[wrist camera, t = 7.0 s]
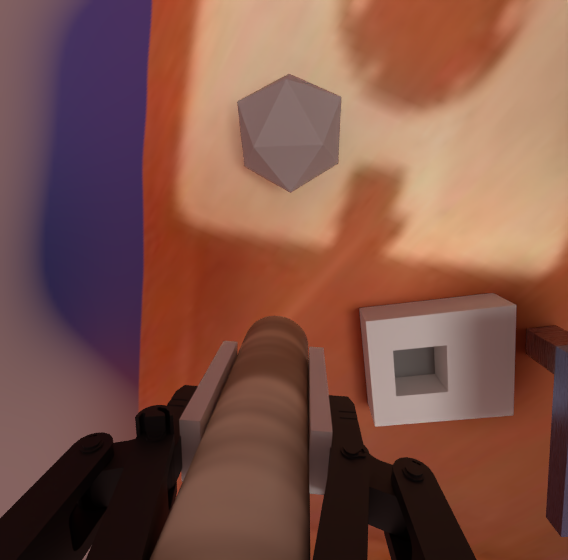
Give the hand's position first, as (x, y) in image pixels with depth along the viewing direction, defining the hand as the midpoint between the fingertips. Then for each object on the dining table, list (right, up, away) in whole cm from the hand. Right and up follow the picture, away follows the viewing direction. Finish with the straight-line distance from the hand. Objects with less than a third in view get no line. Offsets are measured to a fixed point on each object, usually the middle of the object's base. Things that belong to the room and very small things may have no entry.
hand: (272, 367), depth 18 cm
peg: (0, +1, +3) cm, 3 cm away
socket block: (+17, -3, +19) cm, 25 cm away
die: (+1, +18, +14) cm, 23 cm away
